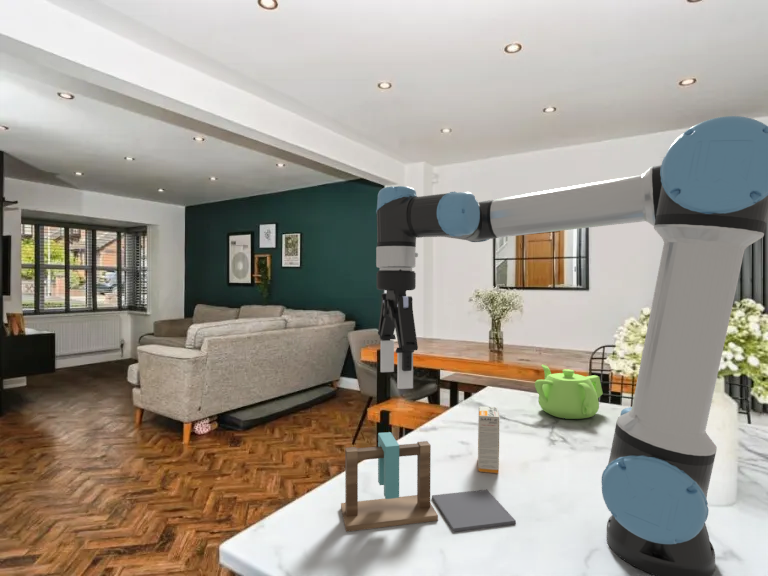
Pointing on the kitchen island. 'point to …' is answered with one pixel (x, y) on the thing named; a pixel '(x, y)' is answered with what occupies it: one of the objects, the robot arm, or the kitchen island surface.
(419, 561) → the kitchen island surface
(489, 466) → the supplement box
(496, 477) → the kitchen island surface
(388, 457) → the teal u-shaped block
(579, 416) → the teapot
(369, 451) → the stand
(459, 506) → the coaster
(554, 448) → the kitchen island surface
